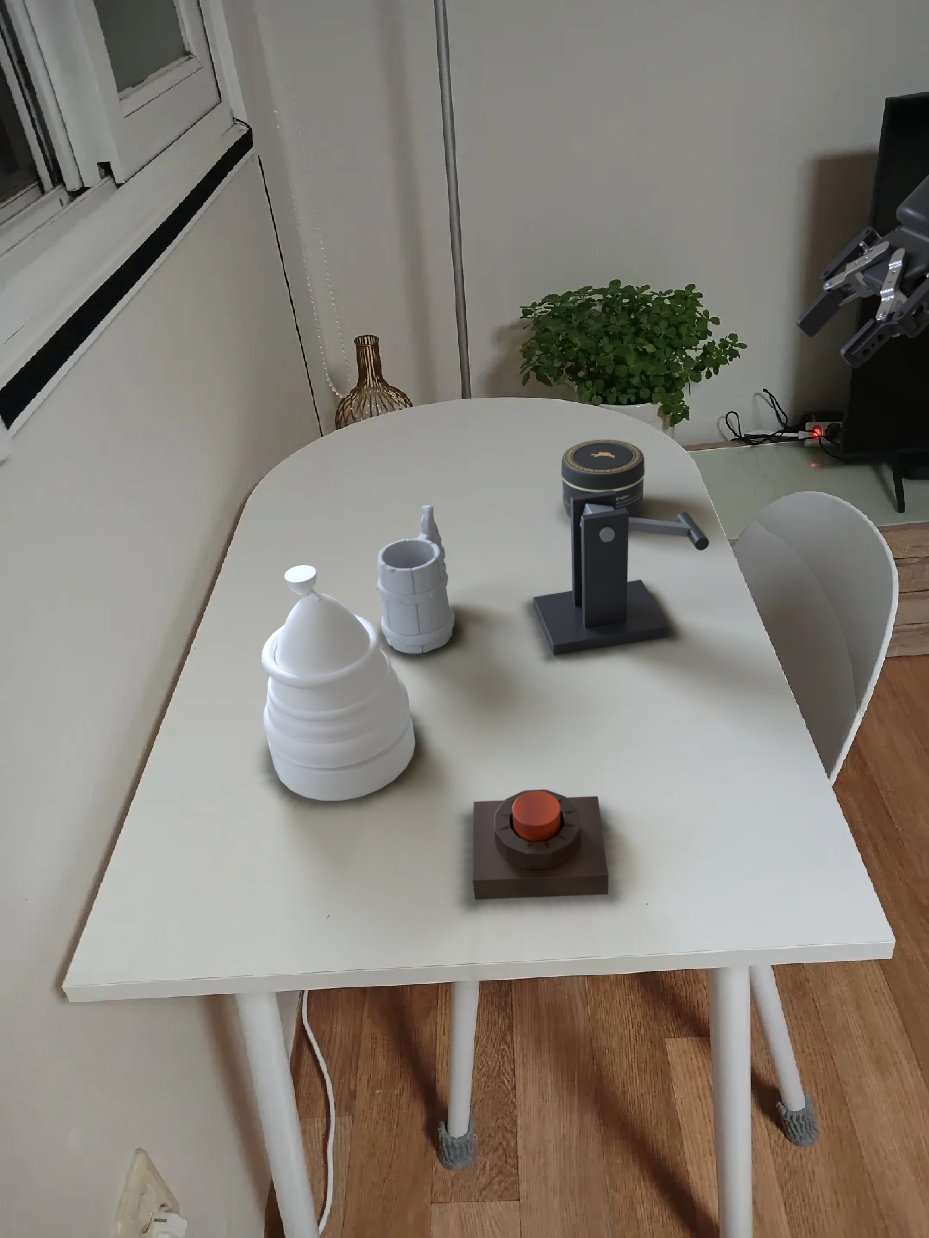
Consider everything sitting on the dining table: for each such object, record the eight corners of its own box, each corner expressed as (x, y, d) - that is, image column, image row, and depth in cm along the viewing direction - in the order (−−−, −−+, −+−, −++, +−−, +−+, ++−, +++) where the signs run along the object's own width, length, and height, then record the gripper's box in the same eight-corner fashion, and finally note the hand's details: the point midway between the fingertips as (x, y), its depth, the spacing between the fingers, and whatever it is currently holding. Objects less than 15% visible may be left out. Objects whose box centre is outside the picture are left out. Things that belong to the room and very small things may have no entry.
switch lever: (685, 528, 98) (692, 508, 97) (705, 555, 94) (713, 534, 92) (575, 517, 95) (581, 495, 94) (589, 544, 91) (596, 521, 89)
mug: (371, 651, 98) (354, 551, 92) (412, 589, 108) (399, 494, 101) (441, 660, 96) (429, 559, 89) (476, 596, 105) (468, 500, 98)
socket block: (597, 814, 78) (597, 779, 75) (608, 894, 71) (608, 858, 69) (475, 820, 78) (471, 785, 76) (474, 899, 72) (470, 864, 69)
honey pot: (252, 740, 89) (206, 578, 78) (373, 685, 94) (345, 526, 83) (311, 823, 79) (268, 652, 69) (441, 757, 85) (420, 589, 74)
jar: (556, 497, 122) (554, 443, 118) (632, 488, 123) (634, 433, 118) (570, 536, 114) (569, 479, 110) (652, 526, 114) (654, 469, 110)
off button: (559, 805, 74) (558, 789, 73) (562, 840, 71) (561, 824, 70) (512, 807, 74) (511, 791, 73) (514, 842, 71) (512, 826, 70)
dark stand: (640, 589, 104) (644, 475, 96) (668, 636, 96) (675, 517, 89) (533, 606, 103) (527, 492, 95) (553, 655, 95) (549, 536, 87)
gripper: (901, 151, 85) (765, 298, 90) (1001, 180, 73) (838, 346, 79) (945, 207, 88) (811, 345, 94) (1046, 243, 77) (887, 398, 82)
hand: (823, 345), depth 86 cm, fingers open, 8 cm apart
